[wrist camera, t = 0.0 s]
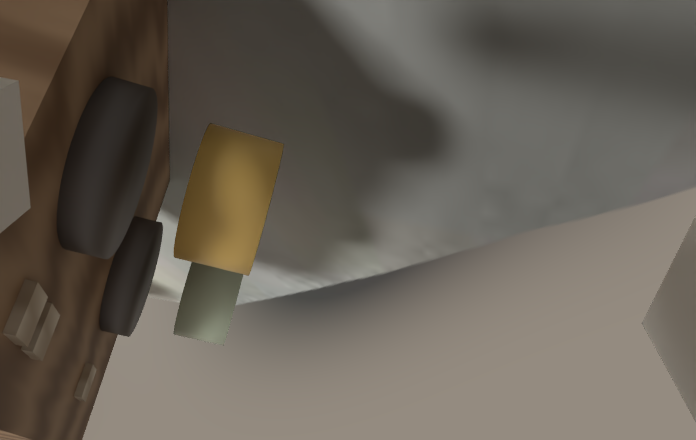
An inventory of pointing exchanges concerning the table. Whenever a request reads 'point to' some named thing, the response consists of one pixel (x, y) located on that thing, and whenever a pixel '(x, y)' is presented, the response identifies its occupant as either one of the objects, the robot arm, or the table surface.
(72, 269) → the console
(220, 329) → the sage button
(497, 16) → the table surface
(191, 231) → the ochre button
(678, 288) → the robot arm
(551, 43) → the table surface
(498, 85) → the table surface
